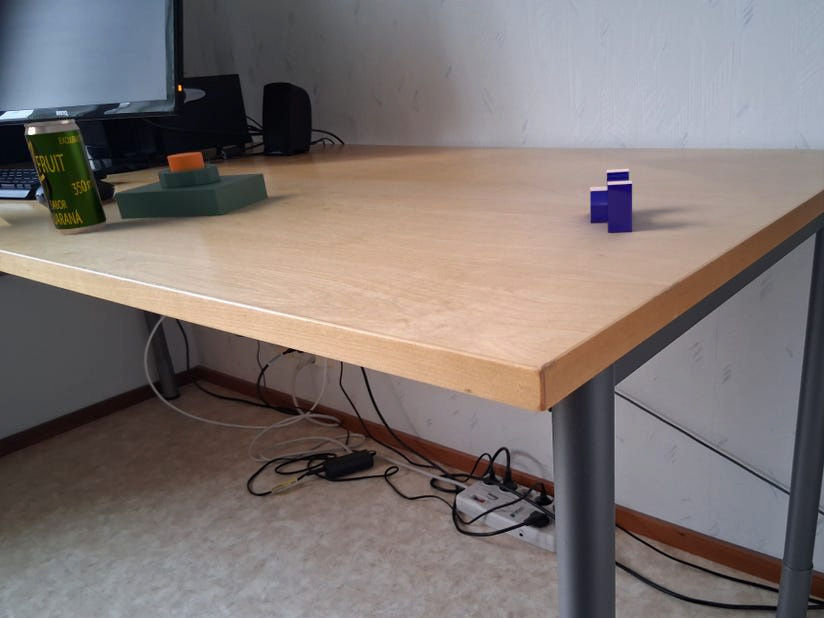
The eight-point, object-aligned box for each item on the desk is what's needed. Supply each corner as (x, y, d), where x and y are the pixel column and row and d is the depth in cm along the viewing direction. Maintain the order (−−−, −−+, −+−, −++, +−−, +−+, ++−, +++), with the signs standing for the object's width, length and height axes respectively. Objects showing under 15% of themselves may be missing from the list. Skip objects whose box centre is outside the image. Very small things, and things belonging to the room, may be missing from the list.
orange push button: (164, 174, 85) (160, 157, 85) (184, 169, 89) (180, 153, 88) (192, 173, 84) (188, 156, 84) (211, 168, 88) (207, 151, 87)
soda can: (76, 226, 83) (43, 121, 79) (118, 223, 83) (87, 117, 78) (46, 237, 78) (9, 126, 74) (91, 234, 78) (56, 122, 73)
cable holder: (590, 213, 67) (590, 170, 65) (628, 211, 66) (628, 168, 64) (590, 233, 59) (589, 185, 58) (631, 231, 59) (632, 183, 57)
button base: (121, 219, 85) (109, 178, 83) (177, 201, 95) (168, 164, 93) (220, 216, 82) (210, 172, 80) (268, 198, 92) (260, 159, 90)
